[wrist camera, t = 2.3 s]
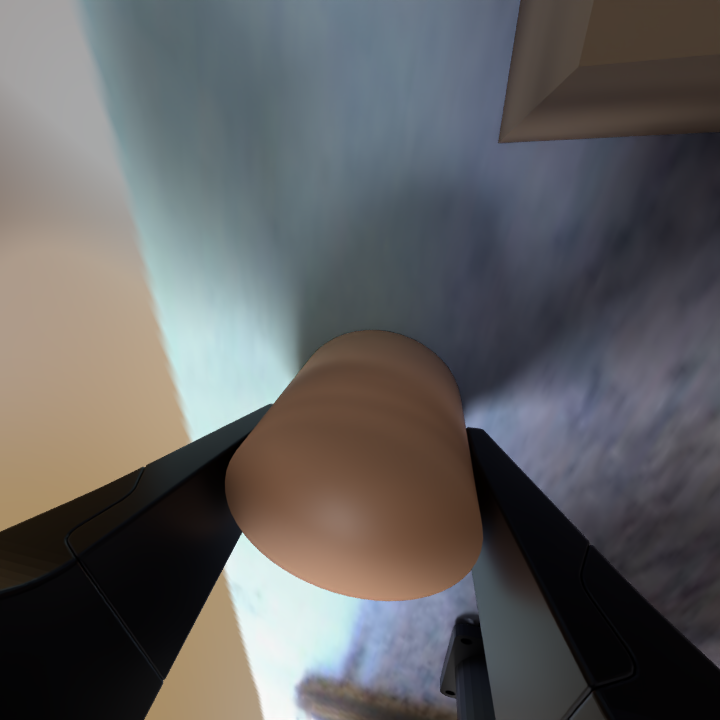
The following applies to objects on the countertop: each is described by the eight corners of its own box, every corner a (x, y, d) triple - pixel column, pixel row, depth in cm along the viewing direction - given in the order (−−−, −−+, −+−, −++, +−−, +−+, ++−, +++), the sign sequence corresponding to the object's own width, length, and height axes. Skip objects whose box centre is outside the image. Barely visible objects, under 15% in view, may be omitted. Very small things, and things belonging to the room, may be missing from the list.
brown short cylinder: (449, 477, 10) (460, 622, 6) (306, 455, 11) (247, 573, 7) (474, 336, 8) (511, 441, 4) (291, 324, 9) (198, 402, 5)
